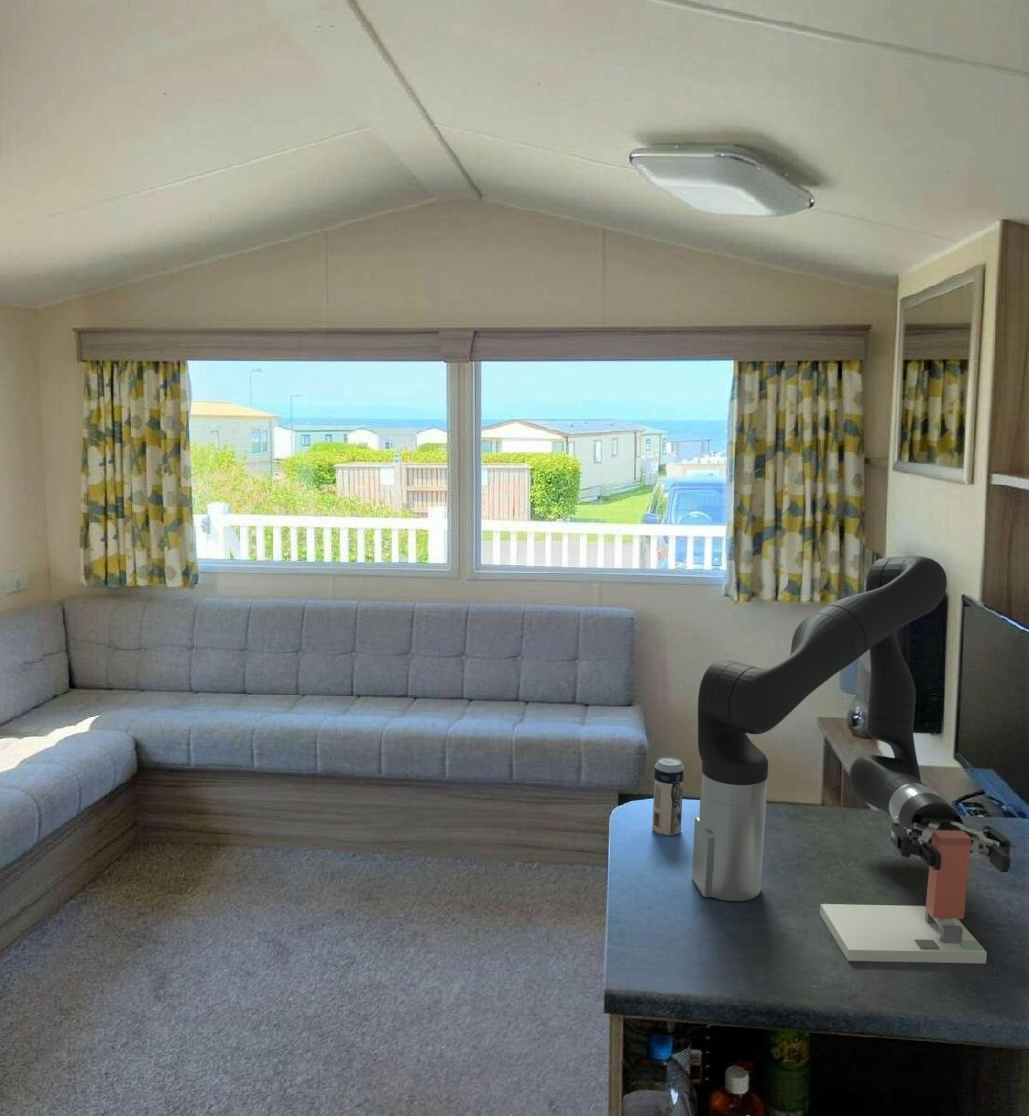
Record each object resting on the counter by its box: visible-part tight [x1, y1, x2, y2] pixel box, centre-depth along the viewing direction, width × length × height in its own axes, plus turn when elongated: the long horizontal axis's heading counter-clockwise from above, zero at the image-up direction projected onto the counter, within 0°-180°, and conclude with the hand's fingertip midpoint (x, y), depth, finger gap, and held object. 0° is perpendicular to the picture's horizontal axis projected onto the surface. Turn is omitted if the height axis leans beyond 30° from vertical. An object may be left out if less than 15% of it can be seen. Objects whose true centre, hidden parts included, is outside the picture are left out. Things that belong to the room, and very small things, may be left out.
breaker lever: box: [925, 830, 972, 928], centre depth 133 cm, size 4×3×13 cm
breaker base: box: [819, 903, 988, 965], centre depth 135 cm, size 18×12×4 cm
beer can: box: [651, 756, 685, 837], centre depth 167 cm, size 5×5×12 cm
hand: (972, 864), depth 131 cm, fingers open, 8 cm apart
